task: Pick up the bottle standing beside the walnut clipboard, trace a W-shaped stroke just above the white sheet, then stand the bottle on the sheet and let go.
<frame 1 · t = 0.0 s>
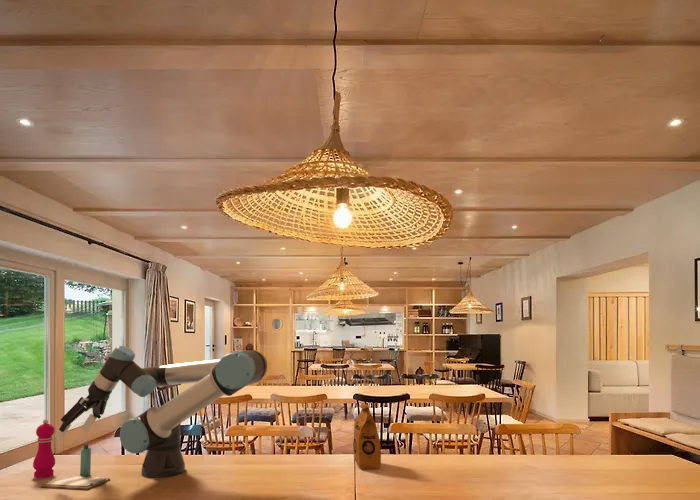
hand: (71, 434, 212), 15 cm above the table, tool tilted 35°, fingers open, 13 cm apart
clipboard: (76, 483, 203), on the table
bottle: (85, 475, 214), on the table
coffee package: (367, 466, 219), on the table
pepper mill: (43, 476, 214), on the table
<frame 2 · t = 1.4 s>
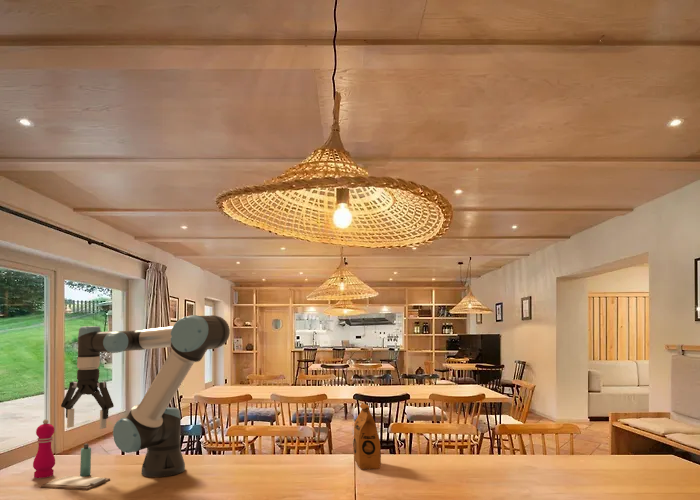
hand: (86, 427, 216), 17 cm above the table, tool pointing down, fingers open, 13 cm apart
nothing on the table moved.
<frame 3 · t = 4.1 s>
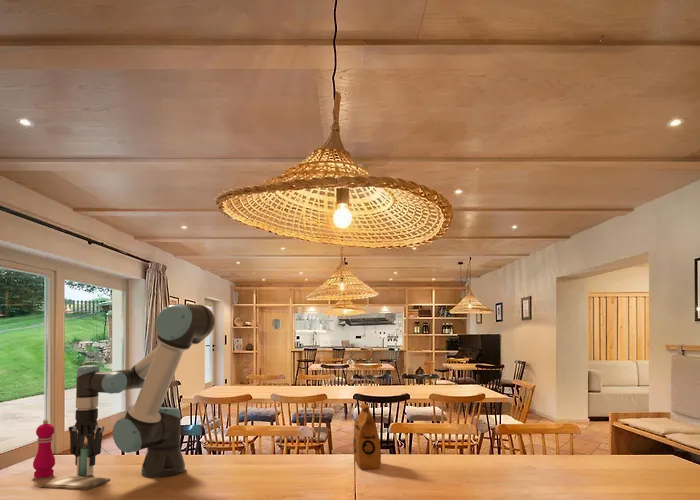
hand: (84, 474, 214), 0 cm above the table, tool pointing down, fingers closed on bottle, 3 cm apart
bottle: (84, 475, 214), on the table, touching gripper
everything else where it was.
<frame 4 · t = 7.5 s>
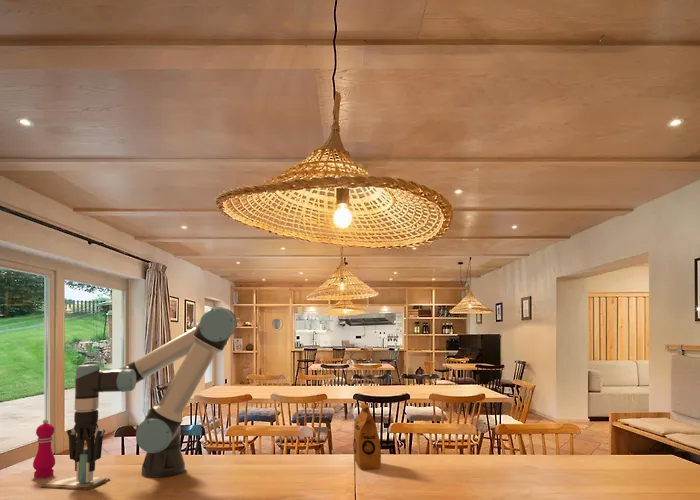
hand: (84, 481, 201), 2 cm above the table, tool pointing down, fingers closed on bottle, 3 cm apart
bottle: (84, 482, 201), point 1 cm above the table, touching gripper
everything else where it was.
when the fingers open (1 cm above the table, at t = 11.0 s): bottle stays where it is, resting on clipboard.
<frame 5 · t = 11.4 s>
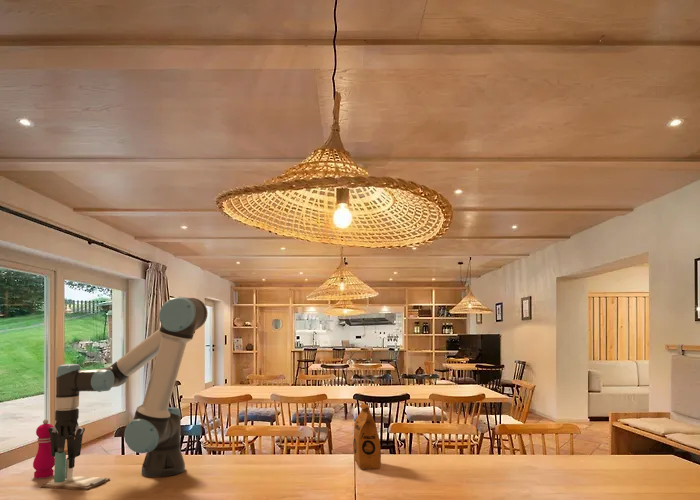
hand: (65, 477, 207), 1 cm above the table, tool pointing down, fingers open, 2 cm apart
bottle: (59, 481, 204), point 1 cm above the table, touching clipboard
everything else where it was.
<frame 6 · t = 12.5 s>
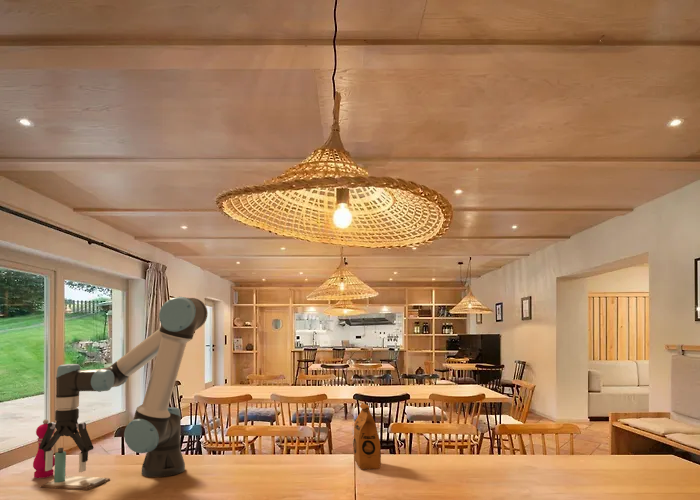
hand: (65, 470, 207), 4 cm above the table, tool pointing down, fingers open, 13 cm apart
nothing on the table moved.
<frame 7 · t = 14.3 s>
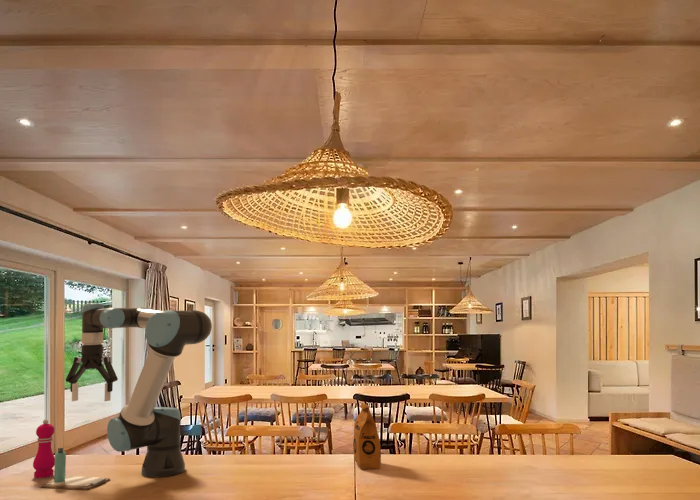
hand: (91, 400, 224), 25 cm above the table, tool pointing down, fingers open, 13 cm apart
nothing on the table moved.
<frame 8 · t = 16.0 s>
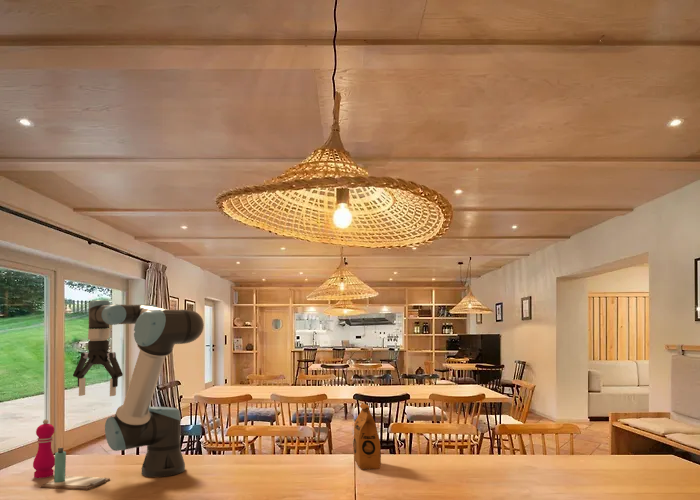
hand: (97, 395, 228), 27 cm above the table, tool pointing down, fingers open, 13 cm apart
nothing on the table moved.
at the end: bottle inside the target area on the clipboard (5.6 cm from its centre), point 1.0 cm above the clipboard's base; bottle tilted 0°; the gripper is holding nothing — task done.
